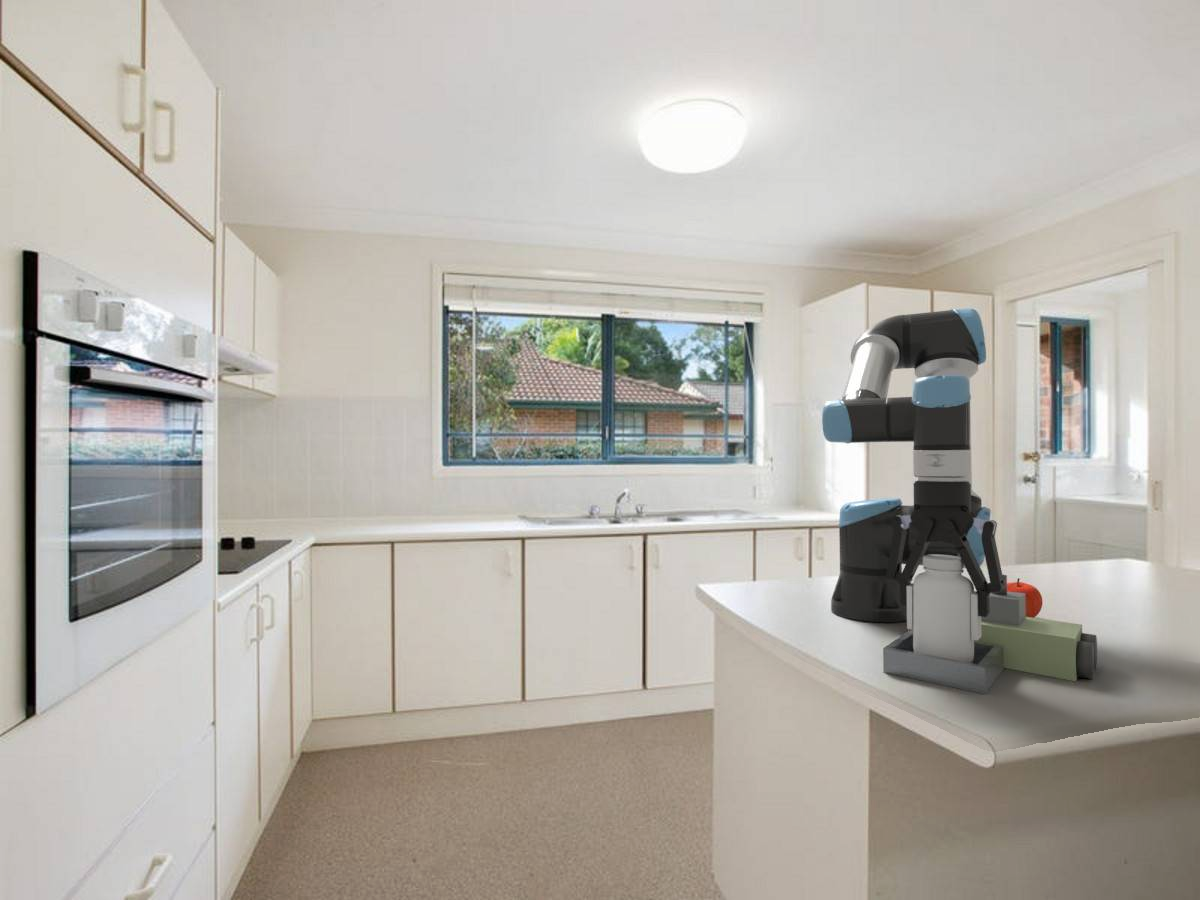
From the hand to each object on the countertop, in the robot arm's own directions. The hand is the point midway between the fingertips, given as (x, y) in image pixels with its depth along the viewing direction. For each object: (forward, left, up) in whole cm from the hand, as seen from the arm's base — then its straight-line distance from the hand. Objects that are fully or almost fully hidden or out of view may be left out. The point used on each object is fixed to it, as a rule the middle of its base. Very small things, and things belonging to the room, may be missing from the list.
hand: (943, 632), depth 92 cm
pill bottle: (0, 0, -4) cm, 4 cm away
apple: (+3, +43, -6) cm, 43 cm away
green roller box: (+6, +12, -6) cm, 15 cm away
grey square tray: (0, 0, -6) cm, 6 cm away
